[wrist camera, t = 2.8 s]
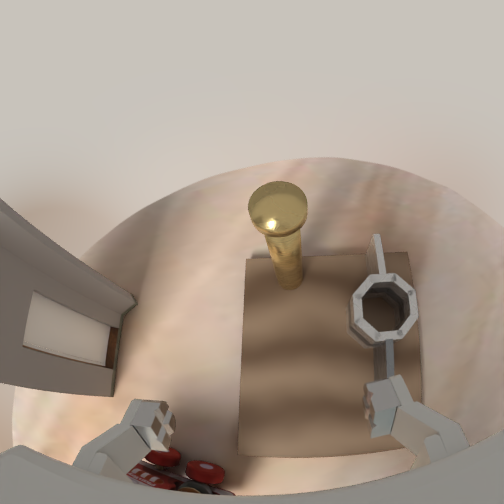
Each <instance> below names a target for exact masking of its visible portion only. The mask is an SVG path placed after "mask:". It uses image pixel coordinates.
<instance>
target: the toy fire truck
mask: <svg viewBox="0 0 504 504" xmlns="http://www.w3.org/2000/svg"><path fill="white" fill-rule="evenodd" d="M144 458H145V459H146V460H147V461H149V462H151V463H153V464H155V465H152V464H150V463H147V462H145V461H142V460H141V461H140V462H139V463H138V464H137V465H135V466H134V467H133V468H132V469H131V470H130V471H129V472H128V473H127V474H126V475H127V476H128V477H129V478H130V479H131V480H132V481H133V483H134V484H139V485H144V486H149V487H154V488H160V489H166V490H173V491H180V492H189V493H199V494H211V495H232V496H236V495H235V494H234V493H232V492H230V491H227V490H223V489H219V488H216V487H213V486H211V485H209V484H219V483H221V482H222V481H223V478H224V474H225V471H224V470H223V468H221V467H220V466H218V465H215V464H213V463H209V462H205V461H197V460H194V461H190V462H188V463H187V466H186V470H185V473H186V475H187V476H188V477H189V478H190V479H188V478H185V477H182V476H180V475H177V474H174V473H171V472H169V471H168V470H166V469H165V468H164V467H176V466H178V465H179V463H180V459H181V454H180V453H179V452H178V451H177V450H175V449H173V448H170V447H169V449H168V451H158V450H151V451H150V452H149V453H148V454H147V455H146V456H145V457H144ZM191 479H192V480H191Z"/></svg>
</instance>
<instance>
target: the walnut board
mask: <svg viewBox="0 0 504 504" xmlns="http://www.w3.org/2000/svg"><path fill="white" fill-rule="evenodd" d="M383 255H384V261H385V268H386V274H388V273H396V274H397V275H398V276H399V277H401V278H402V279H403V280H404V281H405V282H407V283H408V284H409V285H410V286H411V287H412V288H413V282H412V275H411V269H410V264H409V258H408V253H407V252H395V253H383ZM302 271H303V280H302V283H301V285H300V286H299V287H298V288H296V289H294V290H286V289H283V288H282V287H281V286H280V285H279V283H278V281H277V277H276V274H275V270H274V266H273V263H272V259H271V258H257V259H246V271H245V292H244V313H243V334H242V356H241V379H240V402H239V427H238V451H237V455H244V456H257V457H280V458H312V457H334V456H347V455H358V454H367V453H375V452H382V451H388V450H394V449H400V448H406V447H405V446H404V445H402V444H401V443H400V442H399V441H397V440H396V439H395V438H394V437H393V436H391V434H388V435H384V436H379V437H375V438H370V435H369V431H368V428H367V423H368V420H367V419H366V418H365V416H364V412H363V404H362V400H363V396H364V395H365V394H364V390H363V387H364V383H367V382H372V381H374V355H373V348H364V347H362V346H361V345H360V344H359V343H358V342H357V341H356V340H355V339H354V338H352V337H351V336H350V335H349V334H348V333H347V323H346V307H347V305H348V303H349V301H350V299H351V297H352V295H353V294H354V292H355V291H356V290H357V289H358V288H359V287H360V286H361V284H362V283H363V282H364V281H365V280H366V279H367V277H368V275H367V267H366V259H365V254H352V255H329V256H306V257H302ZM413 289H414V288H413ZM362 310H363V319H364V320H366V321H367V322H368V323H369V324H370V325H371V326H372V327H373V328H375V329H376V330H377V331H378V332H386V331H392V329H393V328H394V327H395V315H394V308H393V307H392V306H391V305H390V304H388V303H387V302H386V301H385V300H384V299H383V298H381V297H377V298H364V300H363V301H362ZM393 349H394V376H396V375H401V376H402V378H403V380H404V382H405V384H406V386H407V388H408V390H409V393H410V395H411V397H412V399H413V401H414V402H416V401H418V402H420V403H421V360H420V343H419V331H418V321H417V320H416V321H415V323H414V324H413V325H412V327H411V328H410V330H409V331H408V332H407V334H406V335H405V336H404V337H403V339H401V340H399V341H397V342H395V343H394V344H393Z"/></svg>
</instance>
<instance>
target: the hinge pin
mask: <svg viewBox="0 0 504 504" xmlns="http://www.w3.org/2000/svg"><path fill="white" fill-rule="evenodd" d="M248 211H249V214H250V217H251V220H252V223H253V225H254V227H255V228H256V229H257V230H258V231H259V232H261V233H262V234H264V235H265V238H266V242H267V245H268V249H269V252H270V256H271V259H272V263H273V266H274V270H275V274H276V277H277V281H278V283H279V285H280V286H281V287H282V288H283V289H286V290H294V289H296V288H298V287H299V286H300V285H301V283H302V280H303V271H302V251H301V234H300V228H301V227H302V226H303V225H304V223H305V221H306V219H307V199H306V196H305V194H304V193H303V191H302V190H301V189H300V188H299V187H297V186H296V185H294V184H292V183H289V182H283V181H276V182H270V183H267V184H265V185H263V186H261V187H259V188H258V189H257V190H256V191H255V192H254V193H253V194H252V196H251V198H250V200H249V204H248Z"/></svg>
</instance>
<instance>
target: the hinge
mask: <svg viewBox="0 0 504 504" xmlns="http://www.w3.org/2000/svg"><path fill="white" fill-rule="evenodd" d="M365 259H366V267H367V275H368V277H367V279H366V280H365V281H364V282H363V283H362V284H361V286H360V287H359V288H358V289H357V290H356V291H355V292H354V294H353V295H352V297H351V299H350V301H349V303H348V305H347V307H346V323H347V333H348V334H349V335H350V336H351V337H352V338H354V339H355V340H356V341H357V342H358V343H359V344H360V345H361V346H362V347H364V348H373V355H374V381H376V380H380V379H384V378H388V377H392V376H394V349H393V344H394V343H395V342H397V341H399V340H401V339H403V337H404V336H405V335H406V334H407V332H408V331H409V330H410V328H411V327H412V325H413V324H414V323H415V321H416V320H417V319H418V317H419V315H418V307H417V299H416V292H415V289H413V288H412V287H411V286H410V285H409V284H408V283H407V282H405V281H404V280H403V279H402V278H401V277H399V276H398V275H397V274H396V273H388V274H386V268H385V261H384V255H383V249H382V243H381V237H380V234H373V236H372V239H371V241H370V244H369V247H368V249H367V252H366V254H365ZM377 297H381V298H383V299H384V300H385V301H386V302H387V303H388V304H390V305H391V306H392V307H393V308H394V315H395V327H394V328H393V329H392V331H386V332H378V331H377V330H376V329H375V328H373V327H372V326H371V325H370V324H369V323H368V322H367V321H366V320H364V319H363V310H362V301H363V300H364V298H377Z"/></svg>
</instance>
